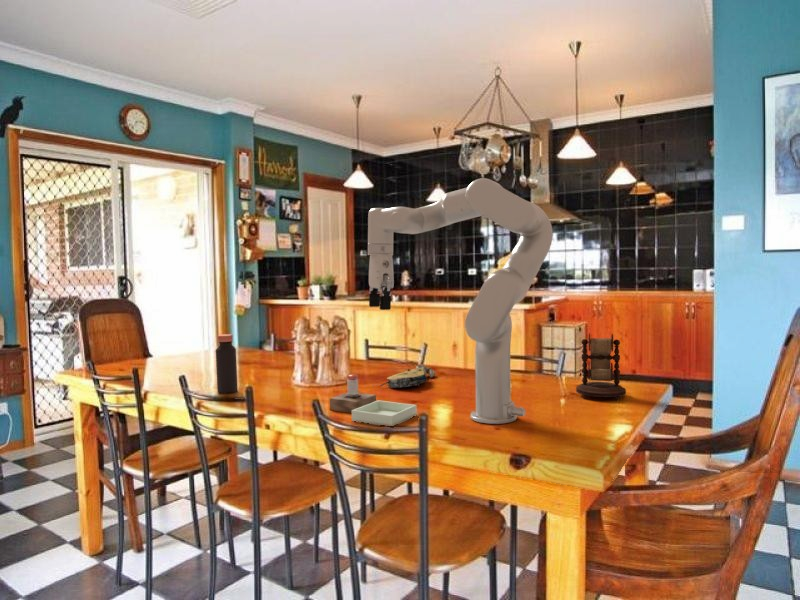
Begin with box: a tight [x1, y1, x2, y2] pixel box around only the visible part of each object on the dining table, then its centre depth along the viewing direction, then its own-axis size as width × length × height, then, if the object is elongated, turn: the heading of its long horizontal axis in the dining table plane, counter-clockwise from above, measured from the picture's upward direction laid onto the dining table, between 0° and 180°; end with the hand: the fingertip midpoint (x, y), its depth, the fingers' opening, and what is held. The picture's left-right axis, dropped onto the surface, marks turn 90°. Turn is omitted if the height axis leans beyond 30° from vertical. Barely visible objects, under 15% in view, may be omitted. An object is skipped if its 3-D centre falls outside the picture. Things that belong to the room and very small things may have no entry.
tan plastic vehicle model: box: [379, 364, 436, 389], centre depth 207 cm, size 14×6×30 cm
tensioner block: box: [329, 391, 377, 414], centre depth 172 cm, size 10×10×4 cm
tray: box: [351, 399, 418, 427], centre depth 160 cm, size 13×13×3 cm
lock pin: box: [346, 373, 359, 399], centre depth 172 cm, size 3×3×10 cm
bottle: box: [215, 333, 239, 394], centre depth 199 cm, size 7×7×20 cm
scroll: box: [575, 332, 627, 402], centre depth 179 cm, size 15×15×20 cm
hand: (379, 308), depth 170 cm, fingers open, 9 cm apart
